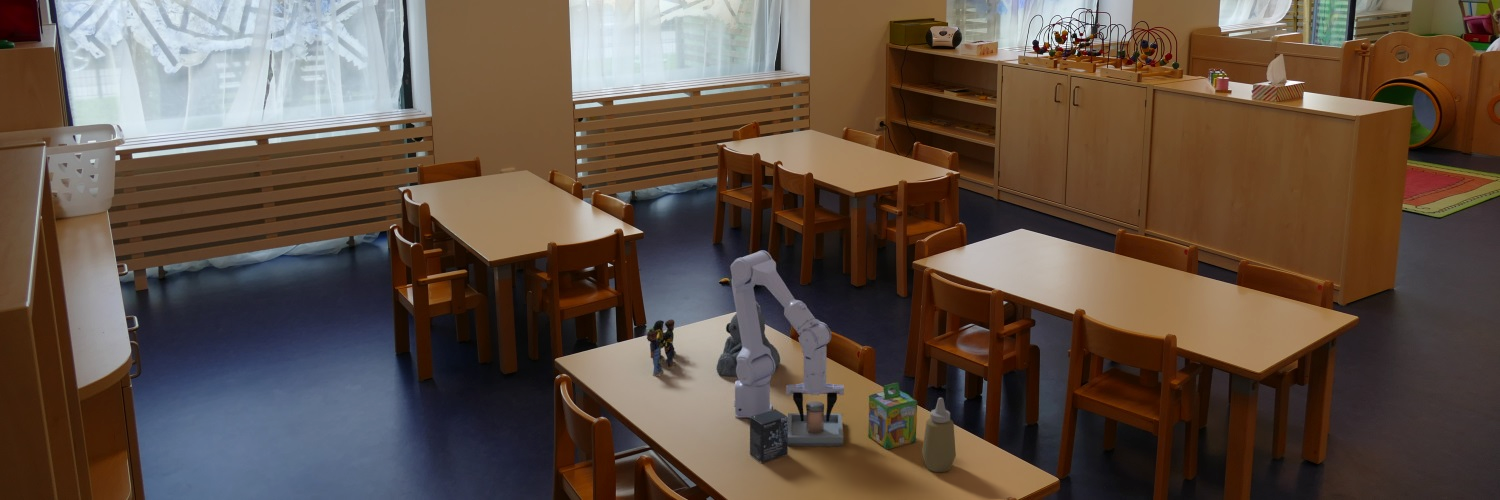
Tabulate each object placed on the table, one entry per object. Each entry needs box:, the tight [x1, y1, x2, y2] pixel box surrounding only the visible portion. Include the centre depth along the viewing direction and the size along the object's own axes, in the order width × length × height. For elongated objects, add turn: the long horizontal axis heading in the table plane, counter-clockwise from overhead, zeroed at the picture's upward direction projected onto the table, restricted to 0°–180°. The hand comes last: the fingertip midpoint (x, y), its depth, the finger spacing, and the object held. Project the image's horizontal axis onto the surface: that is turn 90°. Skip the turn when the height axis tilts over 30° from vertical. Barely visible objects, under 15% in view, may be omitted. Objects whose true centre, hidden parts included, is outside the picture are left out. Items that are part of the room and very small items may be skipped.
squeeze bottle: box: [921, 397, 957, 473], centre depth 280 cm, size 8×8×18 cm
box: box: [749, 408, 789, 464], centre depth 288 cm, size 8×6×11 cm
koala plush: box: [716, 301, 781, 377], centre depth 341 cm, size 17×18×20 cm
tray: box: [787, 412, 844, 447], centre depth 301 cm, size 14×14×2 cm
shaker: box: [805, 400, 825, 434], centre depth 300 cm, size 5×5×7 cm
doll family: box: [645, 319, 678, 377], centre depth 345 cm, size 23×9×13 cm, turn 6°
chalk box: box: [867, 382, 918, 450], centre depth 295 cm, size 9×9×15 cm
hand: (814, 419), depth 300 cm, fingers open, 6 cm apart
